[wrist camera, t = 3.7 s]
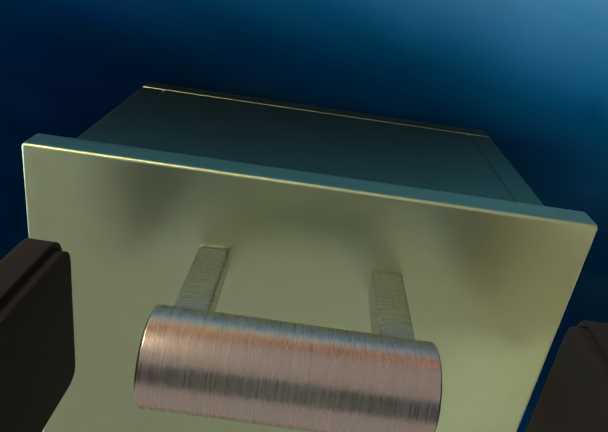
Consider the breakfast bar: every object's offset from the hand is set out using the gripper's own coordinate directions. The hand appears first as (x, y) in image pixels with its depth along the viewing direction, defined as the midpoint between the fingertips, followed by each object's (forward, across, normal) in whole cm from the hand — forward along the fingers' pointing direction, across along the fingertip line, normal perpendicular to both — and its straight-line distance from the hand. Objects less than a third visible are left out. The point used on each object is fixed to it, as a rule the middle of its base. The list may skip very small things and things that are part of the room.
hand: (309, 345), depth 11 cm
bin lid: (+3, 0, +8) cm, 9 cm away
